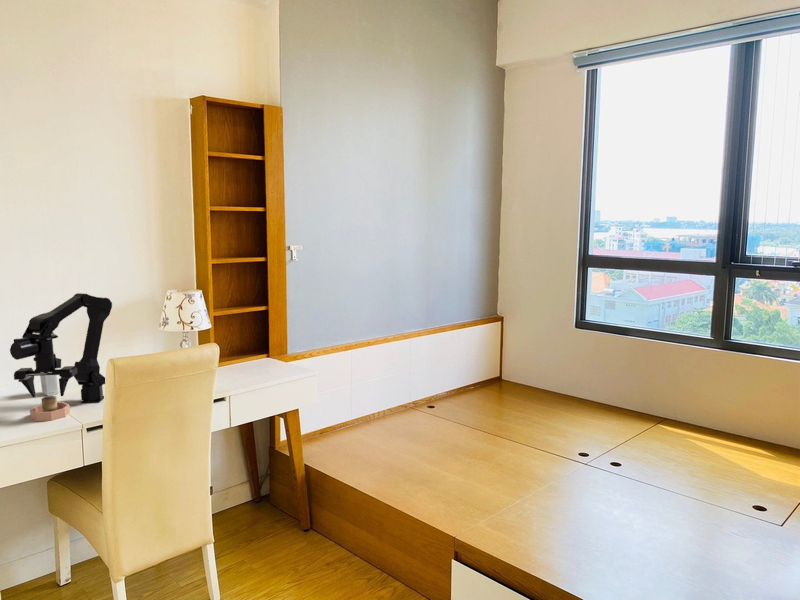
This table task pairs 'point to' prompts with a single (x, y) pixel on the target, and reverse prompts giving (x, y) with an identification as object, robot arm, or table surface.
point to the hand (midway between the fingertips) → (48, 396)
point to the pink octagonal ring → (39, 415)
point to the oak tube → (49, 403)
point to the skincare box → (49, 384)
